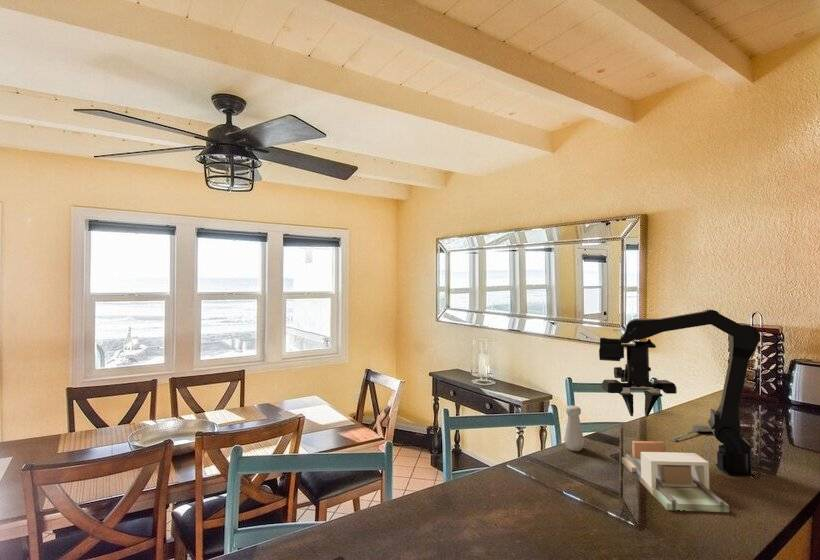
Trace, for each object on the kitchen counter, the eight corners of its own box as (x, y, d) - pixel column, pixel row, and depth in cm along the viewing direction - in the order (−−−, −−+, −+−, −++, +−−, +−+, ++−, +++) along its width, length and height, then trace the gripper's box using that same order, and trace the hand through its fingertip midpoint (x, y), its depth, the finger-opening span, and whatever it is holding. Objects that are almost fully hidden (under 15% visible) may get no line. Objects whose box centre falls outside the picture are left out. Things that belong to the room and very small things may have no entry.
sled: (662, 458, 122) (662, 441, 122) (697, 487, 104) (696, 467, 104) (632, 458, 123) (632, 440, 123) (661, 486, 105) (661, 466, 105)
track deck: (670, 463, 122) (670, 455, 122) (729, 512, 96) (729, 501, 96) (621, 462, 124) (621, 454, 124) (666, 510, 97) (666, 499, 97)
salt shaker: (585, 452, 131) (584, 409, 132) (565, 451, 133) (564, 408, 133) (582, 445, 137) (581, 404, 137) (563, 444, 138) (562, 403, 138)
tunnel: (695, 478, 110) (694, 452, 110) (709, 489, 104) (708, 462, 104) (641, 477, 111) (640, 451, 111) (651, 487, 105) (651, 461, 105)
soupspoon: (720, 435, 148) (699, 431, 153) (719, 425, 148) (699, 421, 153) (683, 445, 137) (662, 440, 143) (682, 434, 137) (661, 429, 143)
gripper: (658, 357, 135) (659, 408, 134) (595, 357, 137) (596, 408, 136) (676, 364, 124) (678, 419, 123) (608, 364, 125) (609, 418, 125)
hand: (639, 416), depth 127 cm, fingers open, 4 cm apart
